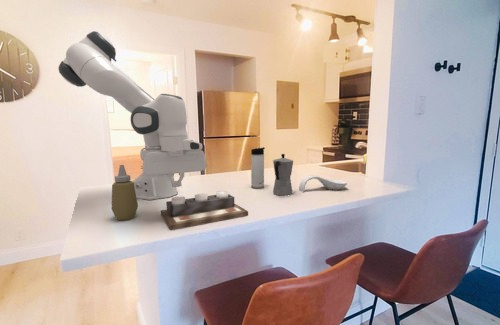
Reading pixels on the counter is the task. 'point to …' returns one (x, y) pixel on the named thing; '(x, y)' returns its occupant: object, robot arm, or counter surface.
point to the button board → (201, 212)
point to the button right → (222, 194)
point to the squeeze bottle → (123, 196)
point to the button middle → (201, 197)
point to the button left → (178, 200)
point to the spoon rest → (326, 182)
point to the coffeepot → (282, 176)
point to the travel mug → (257, 168)
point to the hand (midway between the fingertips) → (176, 186)
